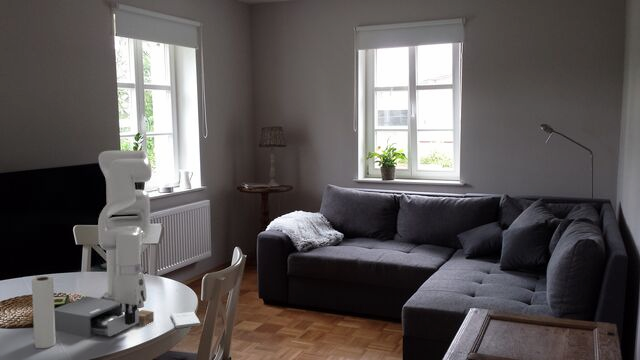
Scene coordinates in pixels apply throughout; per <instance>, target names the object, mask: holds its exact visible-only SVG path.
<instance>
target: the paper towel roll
mask: <svg viewBox="0 0 640 360" xmlns="http://www.w3.org/2000/svg"><path fill="white" fill-rule="evenodd" d="M31 292H32V293H31V294H32V314H33V315H32V316H33V317H32V318H33V338H34V347H35V348H36V349H49V348H51V347H53V346H56V344H57V342H56V341H57V340H56V331H55V312H54V309H55V293H54V292H55V290H54V277H53V276H45V275H44V276H43V275H42V276H40V275H39V276H38V275H35V276H34V278H32V279H31Z"/></svg>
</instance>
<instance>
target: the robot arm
mask: <svg viewBox="0 0 640 360" xmlns="http://www.w3.org/2000/svg"><path fill="white" fill-rule="evenodd" d="M98 165H99V168H100V170H101V172H102V174H103V176H104V177H105V184H106V186H105V187H106V190H105V191H106V192H105V193H106V205H105V206H104V207H103V209H102V210H101V212H100V213H99V217H98V224H97V227H98V229H97V232H98V243H99V246H100V248H101V249H102V250H105V251H106V252H105V253H106V277H107V279H106V280H107V281H106V283H107V291H105V292H104V293H103V299H106V300H112V301H116V302H115V303H116V304H117V305H119V306H121V308H122V309H123V314H125V324H126V325H127V324H128V325H131V324H133V323H135V311H137V309H139V310H140V309H143V308H144V307H145V304H144V302H146V301H147V287H146V286H147V285H146V279H145V275H144V273H143V270H144V267H143V266H142V261H141V258H142V257H141V256H142V255H141V247H142V245H143V243H144V242H145V241H144V240H147V239H148V238H149V236H150V234H151V204H150V203H151V200H150V196H149V193H148V191H146V190H144V189H136V184H135V183H146V182H149V181H150V180H151V178H152V164H151V160H150V159H149V155H148V153H147V152H146V151H145V150H138V149H137V150H129V149H128V150H105V151H102V152H100V153H99V155H98ZM112 215H117V216H114V217H112ZM118 215H119V216H118ZM120 215H121V216H120ZM122 215H124V216H122ZM125 215H130V216H125ZM131 215H132V216H131Z"/></svg>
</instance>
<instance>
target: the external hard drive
mask: <svg viewBox="0 0 640 360" xmlns="http://www.w3.org/2000/svg"><path fill="white" fill-rule="evenodd" d="M171 316H172V317H171ZM170 317H171V319H172V318H173V320H172V322H173V321H174V322H173V324H174V323H175V324H174V326H175V329H182V328H189V327H197V326H201V321H200V320H199V318H198V316H197V314H196V313H195V311H187V312H178V313H172V314H170Z"/></svg>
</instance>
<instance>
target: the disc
mask: <svg viewBox="0 0 640 360" xmlns="http://www.w3.org/2000/svg"><path fill="white" fill-rule="evenodd" d="M116 317H117V316H113V315H108V316H102V317H99V318H97V320H96V321H97V327H100V328H108V324H107V321H110V320H112V319H114V318H116Z"/></svg>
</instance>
